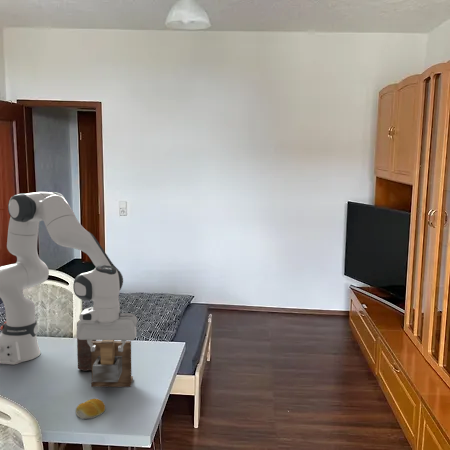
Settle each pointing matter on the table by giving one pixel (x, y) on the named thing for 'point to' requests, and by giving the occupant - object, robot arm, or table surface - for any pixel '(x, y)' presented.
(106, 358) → the wooden block
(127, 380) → the bracket
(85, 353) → the brown rough cylinder
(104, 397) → the table surface
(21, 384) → the table surface
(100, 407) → the bread roll
